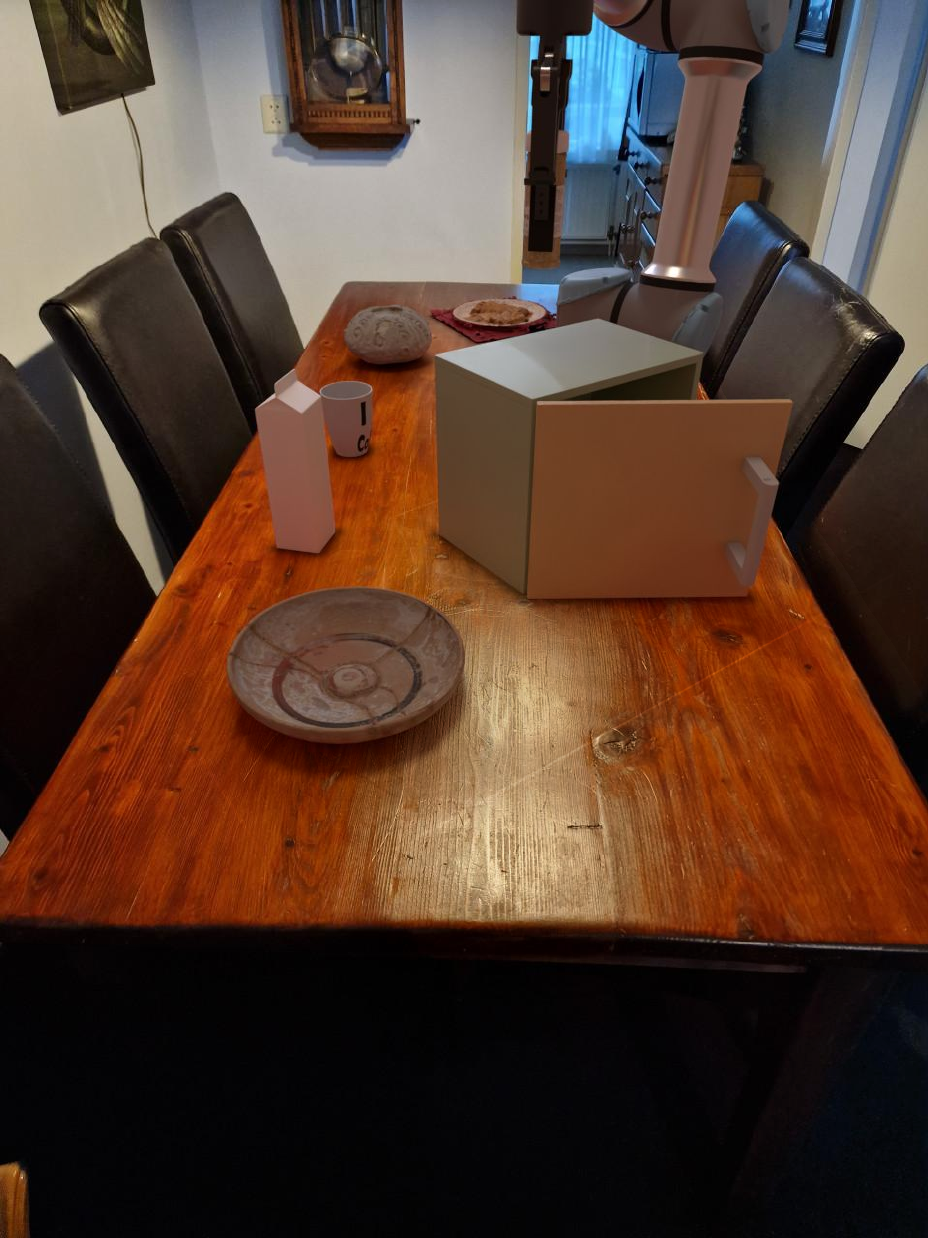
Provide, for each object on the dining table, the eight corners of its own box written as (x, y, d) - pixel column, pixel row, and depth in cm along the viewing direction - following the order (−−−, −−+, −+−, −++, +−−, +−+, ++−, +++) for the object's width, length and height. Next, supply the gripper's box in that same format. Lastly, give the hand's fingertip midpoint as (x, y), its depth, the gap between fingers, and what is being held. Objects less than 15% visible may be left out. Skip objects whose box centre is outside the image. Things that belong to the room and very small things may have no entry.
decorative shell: (440, 369, 164) (439, 318, 158) (352, 377, 160) (348, 325, 155) (422, 343, 178) (421, 295, 172) (341, 350, 175) (336, 301, 169)
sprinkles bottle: (520, 261, 96) (525, 128, 88) (559, 262, 96) (568, 128, 88) (521, 270, 92) (527, 131, 84) (562, 270, 92) (571, 132, 84)
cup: (368, 462, 128) (363, 400, 122) (319, 458, 129) (311, 397, 123) (382, 442, 134) (378, 382, 128) (335, 438, 135) (329, 379, 130)
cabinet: (674, 532, 109) (704, 352, 96) (523, 595, 97) (532, 399, 83) (583, 484, 121) (598, 318, 107) (438, 534, 109) (434, 354, 95)
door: (765, 630, 91) (818, 428, 77) (532, 633, 91) (544, 430, 77) (744, 592, 97) (789, 398, 84) (526, 594, 97) (536, 401, 83)
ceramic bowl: (262, 802, 71) (253, 761, 68) (216, 651, 88) (207, 613, 85) (503, 728, 78) (504, 688, 75) (416, 602, 96) (414, 566, 93)
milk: (276, 548, 106) (248, 382, 93) (295, 526, 111) (271, 365, 98) (320, 554, 105) (297, 386, 92) (337, 531, 110) (318, 369, 97)
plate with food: (514, 303, 206) (515, 289, 204) (569, 327, 186) (570, 311, 184) (428, 316, 197) (428, 302, 195) (476, 342, 178) (476, 326, 176)
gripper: (589, -21, 71) (569, 264, 85) (599, -10, 86) (581, 233, 99) (504, -20, 73) (498, 261, 86) (528, -9, 87) (519, 231, 100)
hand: (542, 245), depth 92 cm, fingers closed on sprinkles bottle, 4 cm apart
